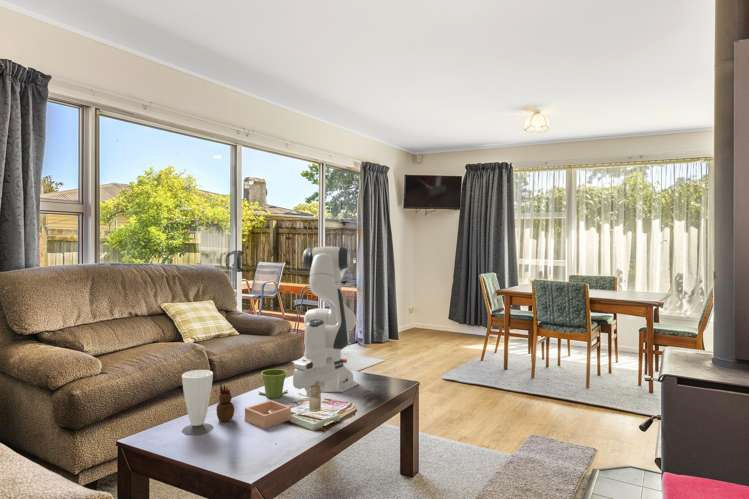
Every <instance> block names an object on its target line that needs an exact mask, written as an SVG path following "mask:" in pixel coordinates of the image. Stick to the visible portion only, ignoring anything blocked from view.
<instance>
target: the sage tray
mask: <svg viewBox="0 0 749 499" xmlns="http://www.w3.org/2000/svg"><path fill="white" fill-rule="evenodd" d="M321 410H322V411H325V412H329V413H332V414H334V416H331V417H329V418H326V419H323V420H321V421H318V422H311V421H307V420H305V419H302V418H299V417H297V416H298V415H299V414H302V413H304V412H307V411H310V410H309V408H308V409H306V410H305V409H304V410H302V411H299V412H296V413H293V414H291V415H290V420H289V421H290V422H291V423H292V424H296V425H297V426H300V427H303V428H306V429H308V430H311V431H317V430H320V429H322V428H324V427H323V426H324V424H325V423H326V422H329V421H338V422H339V421H340V419H341V418H340V414H338V413H336V412H333V411H330V410H327V409H324V408H322V407H321Z"/></svg>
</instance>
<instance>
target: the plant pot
mask: <svg viewBox="0 0 749 499" xmlns="http://www.w3.org/2000/svg"><path fill="white" fill-rule="evenodd" d="M260 373H261V376H262V379H263V385H264V391H265V396H266V398H268V399H270V398H271V399H279V398H280V397H283V390H284V385H285V384H284V383H285V378H286V376H287V375H286V374H288V371H287V370H285V369H280V368H279V369H278V368H273V369H271V368H270V369H266V370H265V369H264V370H262V371H261V372H260Z"/></svg>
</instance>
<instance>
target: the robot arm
mask: <svg viewBox="0 0 749 499" xmlns="http://www.w3.org/2000/svg"><path fill="white" fill-rule="evenodd" d="M301 259H302V263H303V265H304V267H305V268H306V269H307V270H310V271H309V281H308V282H309V283H308V284H309V290H310V292H311V293H312V294H313V295H314V296H315V297H317V298H319V299H320V301H322V302H323V303H326V304H327V305H328V307H329V308H312V309H308V310H307V311H306V312H305V313H304V316H303V323H304V325H305V329H304V331H303V340H302V342H303V344H304V353H303V356H302V357H300V358H299V359H298V360H296V361H294V362H293V367H294V369H293V373H292V386H293V387H294V388H295V389H297V390H302V389H304V390H305V392H306V397H307V398H309V397H311V396H312V392H310V387H311V386H313V385H315V383H316V382H317V381H321V394H323V393H335V392H337V393H339V392H340V393H342V392H346V391H347V390H350V389H352V388H354V387H356V386H358V385H359V382H358V381H357V380H356V379H354V374H353V372H352V371H351V370H350V369H349V368H347V367H346V366H345V365H344V364H347V362H348V359H347V358H342V350H343V349H345V348H346V347H347V346H348V345H349V343H350V333H349V332H350V331H352V330H353V329H354V328H355V326H356V324H357V316H356V315H355V312H354V311H352V310H351V309H350V308H349V307H348V306H347V305H346V304H345V302H344V299H343V298H344V296H343V293H342V287H341V286H342V282H341V281H342V280H341V278H342V277H341V271H343V270H345V269H347V268H348V267H349V265H350V262H351V254H350V252H349V249H348V248H347V247H343V246H331V245H330V246H329V245H327V246H318V247H317V246H316V247H308V248H306V249H305V250H304V251H303V255H302V258H301Z"/></svg>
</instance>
